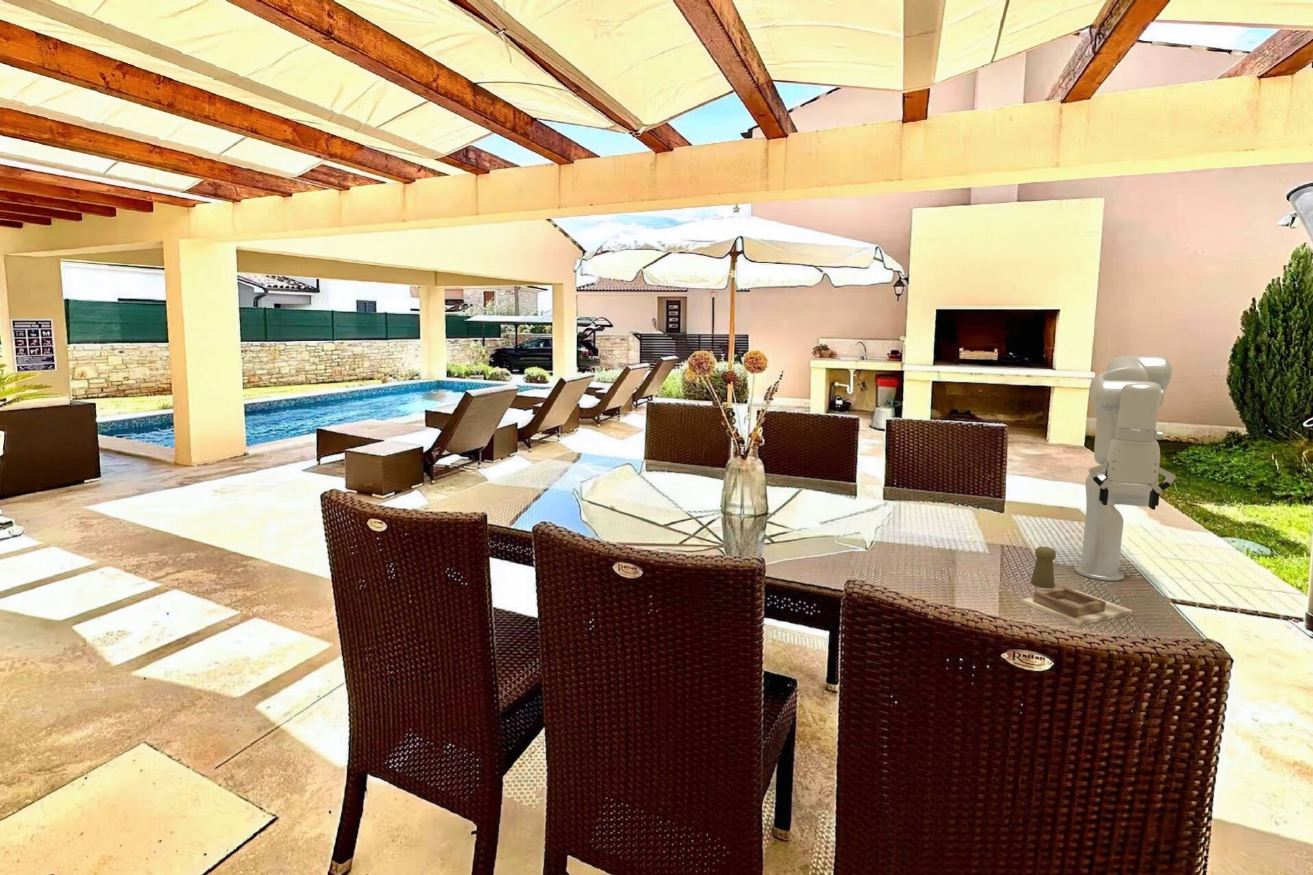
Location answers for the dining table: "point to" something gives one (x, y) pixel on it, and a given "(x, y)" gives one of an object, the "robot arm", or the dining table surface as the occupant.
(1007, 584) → the dining table surface
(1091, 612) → the socket stand
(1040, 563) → the cork
